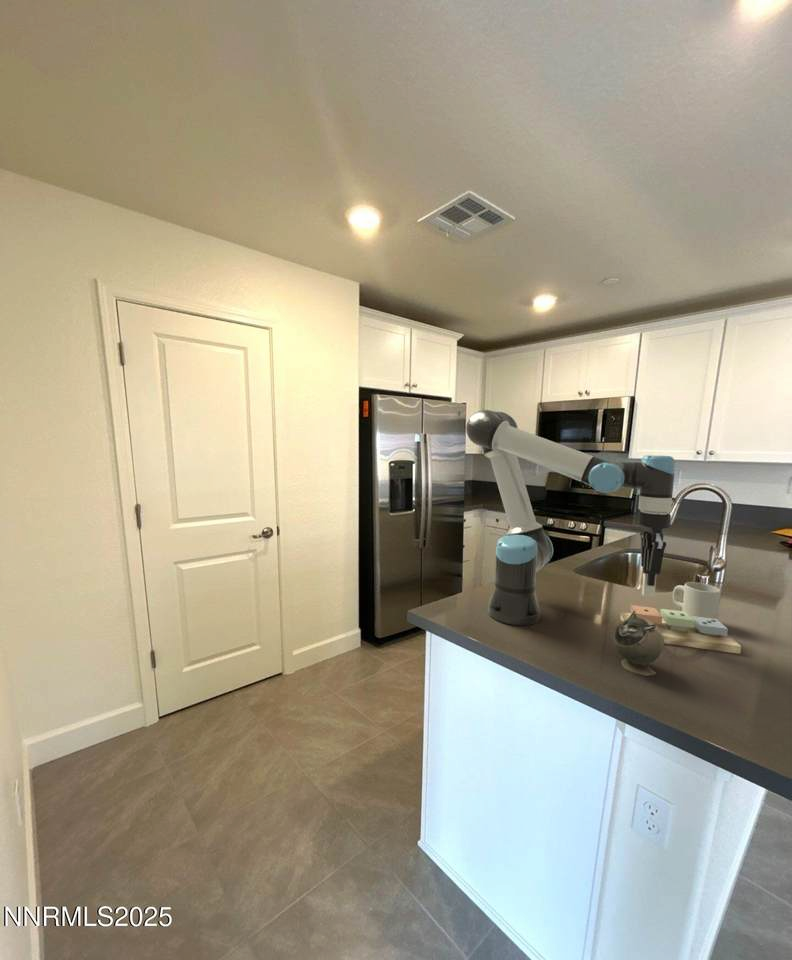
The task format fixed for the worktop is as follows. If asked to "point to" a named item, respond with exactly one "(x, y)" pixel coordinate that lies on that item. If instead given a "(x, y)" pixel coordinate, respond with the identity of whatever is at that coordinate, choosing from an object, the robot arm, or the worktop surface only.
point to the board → (694, 638)
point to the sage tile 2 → (677, 620)
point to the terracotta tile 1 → (647, 614)
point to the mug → (699, 599)
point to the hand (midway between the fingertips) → (648, 595)
